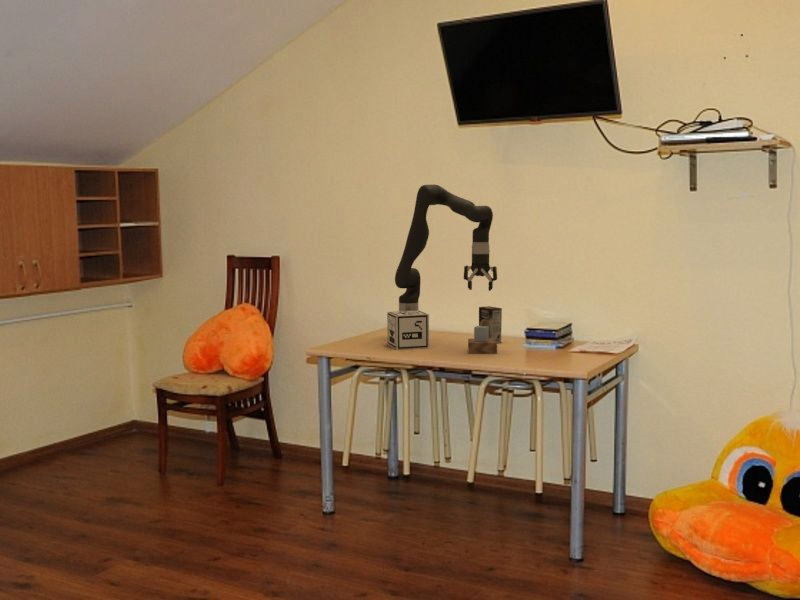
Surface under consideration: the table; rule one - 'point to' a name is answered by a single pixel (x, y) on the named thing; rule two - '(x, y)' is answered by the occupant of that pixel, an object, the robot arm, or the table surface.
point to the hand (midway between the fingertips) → (480, 290)
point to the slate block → (481, 333)
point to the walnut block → (482, 347)
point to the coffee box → (491, 321)
